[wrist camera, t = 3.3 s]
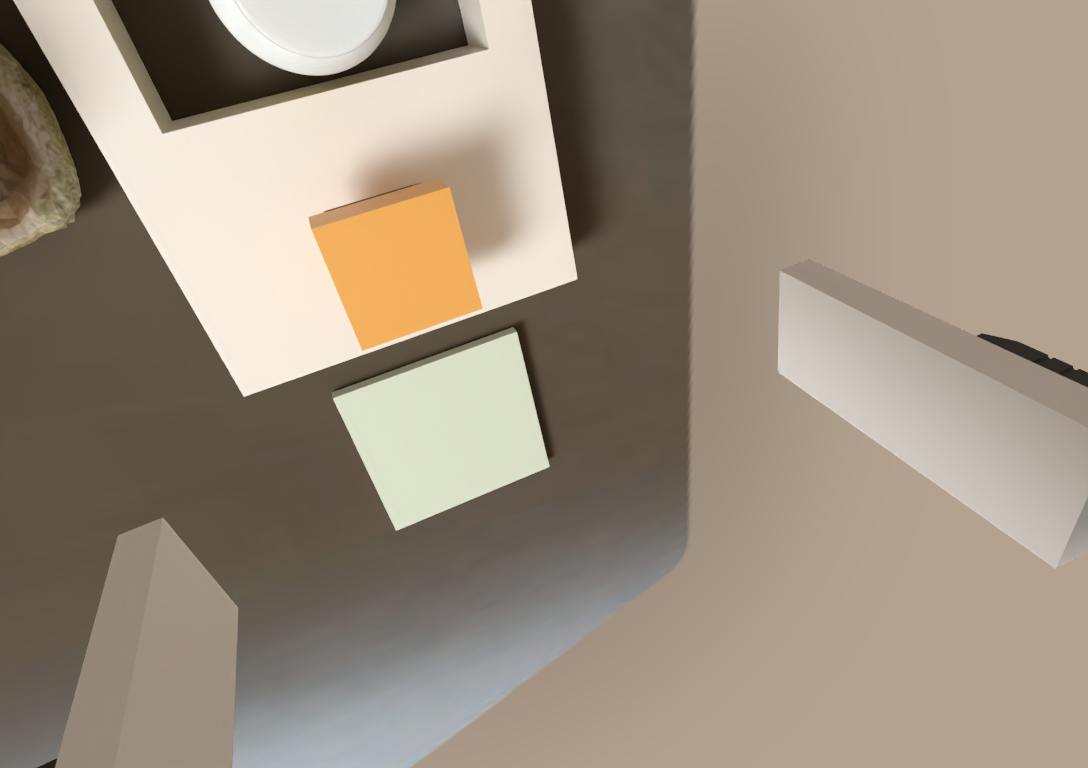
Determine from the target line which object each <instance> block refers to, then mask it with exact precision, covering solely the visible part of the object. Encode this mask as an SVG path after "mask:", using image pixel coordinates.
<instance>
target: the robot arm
mask: <svg viewBox="0 0 1088 768" xmlns="http://www.w3.org/2000/svg"><path fill="white" fill-rule="evenodd" d="M778 372H779V373H780V374H782V375H783V376H784V377H786V378H787V379H789V380H790V381H791V382H793V383H794V384H795V385H797V386H799V387H800V388H801V389H803V390H804V391H805V392H807V393H808V394H810V395H811V396H812V397H814V398H815V399H817V400H818V401H820V402H821V403H822V404H824V405H825V406H827V407H828V408H829V409H831V410H832V411H834V412H835V413H836V414H838V415H839V416H841V417H842V418H844V419H845V420H846V421H848V422H849V423H851V424H852V425H853V426H855V427H856V428H858V429H859V430H860V431H862V432H863V433H865V434H866V435H868V436H869V437H870V438H872V439H873V440H875V441H876V442H877V443H879V444H880V445H882V446H883V447H885V448H886V449H887V450H889V451H890V452H892V453H893V454H894V455H896V456H897V457H899V458H900V459H901V460H903V461H904V462H906V463H907V464H908V465H910V466H911V467H913V468H914V469H916V470H917V471H918V472H920V473H921V474H923V475H924V476H925V477H927V478H928V479H930V480H931V481H933V482H934V483H935V484H937V485H938V486H939V487H941V488H942V489H944V490H945V491H947V492H948V493H949V494H951V495H952V496H954V497H955V498H956V499H958V500H959V501H961V502H962V503H963V504H965V505H966V506H968V507H969V508H971V509H972V510H973V511H975V512H976V513H978V514H979V515H981V516H982V517H983V518H985V519H986V520H987V521H989V522H990V523H992V524H993V525H995V526H996V527H997V528H999V529H1000V530H1002V531H1003V532H1004V533H1006V534H1007V535H1009V536H1010V537H1011V538H1013V539H1014V540H1016V541H1017V542H1019V543H1020V544H1021V545H1023V546H1024V547H1026V548H1027V549H1028V550H1030V551H1031V552H1033V553H1034V554H1035V555H1037V556H1038V557H1040V558H1041V559H1043V560H1044V561H1046V562H1047V563H1048V564H1050V565H1051V566H1053V567H1054V568H1055V569H1057V568H1058V567H1060V566H1062V565H1064V564H1065V563H1067V562H1069V561H1070V560H1072V559H1074V558H1076V557H1078V556H1079V555H1081V554H1083V553H1085V552H1087V551H1088V373H1087V372H1085V371H1083V370H1081V369H1078V370H1074V368H1073V366H1072V365H1069V364H1067V363H1065V362H1063V361H1060V360H1058V359H1056V358H1052V359H1050V358H1049V357H1048V355H1047V354H1045V353H1042V352H1040V351H1038V350H1036V349H1033V348H1031V347H1029V346H1026V345H1024V344H1022V343H1020V342H1017V341H1013V340H1009V339H1004V338H999V337H996V336H991V335H987V334H980V335H978V336H975V335H973V334H970V333H968V332H966V331H964V330H961V329H960V328H957V327H955V326H953V325H951V324H949V323H947V322H944V321H942V320H940V319H938V318H936V317H934V316H931V315H929V314H927V313H925V312H923V311H921V310H918V309H916V308H914V307H912V306H910V305H907V304H905V303H903V302H901V301H899V300H896V299H894V298H892V297H890V296H888V295H886V294H884V293H882V292H879V291H877V290H875V289H873V288H871V287H868V286H866V285H864V284H862V283H860V282H858V281H856V280H853V279H851V278H849V277H847V276H845V275H843V274H840V273H838V272H836V271H834V270H832V269H829V268H827V267H825V266H823V265H821V264H819V263H816V262H814V261H812V260H810V259H808V260H805V261H803V262H800V263H798V264H795V265H793V266H790V267H788V268H786V269H783V270H780V292H779V342H778ZM237 627H238V607H237V606H236V605H235V603H234V602H233V601H232V600H231V599H230V597H229V596H228V595H227V594H226V593H225V591H224V590H223V589H222V588H221V587H220V585H219V584H218V583H217V582H216V581H215V580H214V578H213V577H212V576H211V575H210V574H209V572H208V571H207V570H206V569H205V568H204V566H203V565H202V564H201V563H200V562H199V560H198V559H197V558H196V557H195V556H194V554H193V553H192V552H191V551H190V550H189V548H188V547H187V546H186V545H185V544H184V542H183V541H182V540H181V539H180V538H179V536H178V535H177V534H176V533H175V532H174V530H173V529H172V528H171V527H170V526H169V524H168V523H167V522H166V521H165V520H164V518H161V519H158V520H156V521H153V522H151V523H148V524H146V525H143V526H141V527H138V528H136V529H133V530H131V531H128V532H126V533H123V534H121V535H118V538H117V541H116V545H115V549H114V552H113V556H112V560H111V563H110V567H109V571H108V574H107V578H106V582H105V585H104V589H103V593H102V596H101V600H100V604H99V608H98V611H97V615H96V619H95V622H94V626H93V630H92V633H91V637H90V641H89V644H88V648H87V652H86V655H85V659H84V663H83V666H82V670H81V674H80V677H79V681H78V685H77V688H76V692H75V696H74V700H73V703H72V707H71V711H70V714H69V718H68V722H67V725H66V729H65V733H64V736H63V740H62V744H61V747H60V751H59V755H58V758H57V759H55V760H53V761H51V762H48V763H46V764H44V765H42V766H40V767H37V768H232V754H233V729H234V703H235V678H236V652H237Z"/></svg>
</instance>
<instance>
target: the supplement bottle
mask: <svg viewBox="0 0 1088 768" xmlns="http://www.w3.org/2000/svg"><path fill="white" fill-rule="evenodd" d="M209 1H210V3H211V5H212V7H213V9H214V11H215V12H216V14H217V15H218V17H219V18H220V20H221V21H222V23H223V24H224V25H225V26H226V28H227V29H228V30H229V31H230V32H231V34H232V35H233V36H234V37H235V38H236V39H237V40H238V41H239V42H240V43H241V44H243V45H244V46H245V47H246V48H247V49H248V50H250V51H251V52H252V53H254V54H255V55H257V56H258V57H260V58H261V59H263V60H264V61H266V62H268V63H270V64H272V65H274V66H276V67H279V68H281V69H284V70H287V71H290V72H294V73H298V74H303V75H315V76H321V75H330V74H335V73H339V72H342V71H345V70H348V69H350V68H352V67H354V66H356V65H358V64H359V63H361V62H362V61H364V60H365V59H366V58H367V57H369V56H370V55H371V54H372V53H373V51H374V50H375V49H376V48H377V47H378V45H379V44H380V43H381V41H382V40H383V38H384V37H385V35H386V33H387V31H388V29H389V26H390V23H391V21H392V18H393V14H394V10H395V5H396V0H209Z"/></svg>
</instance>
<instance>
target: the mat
mask: <svg viewBox="0 0 1088 768" xmlns="http://www.w3.org/2000/svg"><path fill="white" fill-rule="evenodd" d="M332 396H333V400H334V402H335V404H336V406H337V408H338V410H339V412H340V414H341V416H342V418H343V421H344V423H345V425H346V427H347V429H348V431H349V433H350V435H351V437H352V439H353V441H354V444H355V446H356V448H357V450H358V452H359V454H360V456H361V458H362V460H363V462H364V464H365V467H366V469H367V471H368V473H369V475H370V477H371V479H372V481H373V483H374V485H375V487H376V490H377V492H378V494H379V496H380V498H381V500H382V502H383V504H384V506H385V508H386V510H387V513H388V515H389V517H390V519H391V521H392V523H393V525H394V527H395V529H396V531H397V530H399V529H401V528H404V527H406V526H409V525H411V524H413V523H416V522H418V521H421V520H423V519H425V518H428V517H430V516H433V515H435V514H437V513H440V512H442V511H445V510H447V509H449V508H452V507H454V506H457V505H459V504H461V503H464V502H466V501H469V500H471V499H473V498H476V497H478V496H481V495H483V494H485V493H488V492H490V491H493V490H495V489H497V488H500V487H502V486H505V485H507V484H509V483H512V482H514V481H517V480H519V479H521V478H524V477H526V476H529V475H531V474H533V473H536V472H538V471H541V470H543V469H545V468H548V467H549V462H548V458H547V454H546V450H545V446H544V442H543V438H542V434H541V429H540V425H539V421H538V417H537V413H536V409H535V405H534V400H533V396H532V392H531V388H530V384H529V380H528V376H527V372H526V367H525V363H524V359H523V355H522V351H521V347H520V343H519V338H518V334H517V331H516V330H515V329H514V327H512V328H509V329H506V330H503V331H500V332H498V333H495V334H492V335H489V336H487V337H484V338H481V339H478V340H476V341H473V342H470V343H467V344H465V345H462V346H459V347H456V348H453V349H451V350H448V351H445V352H442V353H440V354H437V355H434V356H431V357H429V358H426V359H423V360H420V361H417V362H415V363H412V364H409V365H406V366H404V367H401V368H398V369H395V370H393V371H390V372H387V373H384V374H381V375H379V376H376V377H373V378H370V379H368V380H365V381H362V382H359V383H357V384H354V385H351V386H348V387H346V388H343V389H340V390H337V391H334V392H332Z"/></svg>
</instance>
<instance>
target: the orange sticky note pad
mask: <svg viewBox="0 0 1088 768" xmlns="http://www.w3.org/2000/svg"><path fill="white" fill-rule="evenodd" d="M308 218H309V222H310V226H311V230H312V232H313V235H314V237H315V240H316V242H317V244H318V247H319V249H320V251H321V254H322V256H323V259H324V261H325V263H326V266H327V268H328V270H329V273H330V275H331V278H332V280H333V282H334V285H335V287H336V290H337V292H338V294H339V297H340V299H341V301H342V304H343V306H344V309H345V311H346V313H347V316H348V318H349V320H350V323H351V325H352V328H353V330H354V332H355V335H356V337H357V340H358V342H359V344H360V347H361V349H362V351H363V350H366V349H369V348H372V347H375V346H377V345H380V344H383V343H386V342H389V341H392V340H395V339H397V338H400V337H403V336H406V335H409V334H412V333H415V332H417V331H420V330H423V329H426V328H429V327H432V326H434V325H437V324H440V323H443V322H446V321H449V320H452V319H454V318H457V317H460V316H463V315H466V314H469V313H472V312H474V311H477V310H480V309H483V308H482V304H481V301H480V297H479V293H478V290H477V286H476V282H475V279H474V275H473V271H472V267H471V264H470V260H469V256H468V253H467V249H466V245H465V242H464V238H463V234H462V231H461V227H460V223H459V220H458V216H457V212H456V209H455V205H454V201H453V198H452V194H451V190H450V187H449V186H448V185H447V184H446V183H445V182H444V181H443V180H442V179H441V178H437V179H434V180H431V181H427V182H424V183H421V184H417V185H414V186H411V187H407V188H404V189H401V190H397V191H394V192H391V193H387V194H384V195H381V196H377V197H374V198H371V199H367V200H364V201H361V202H357V203H354V204H351V205H347V206H344V207H341V208H337V209H334V210H331V211H327V212H324V213H321V214H317V215H314V216H311V217H308Z"/></svg>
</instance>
